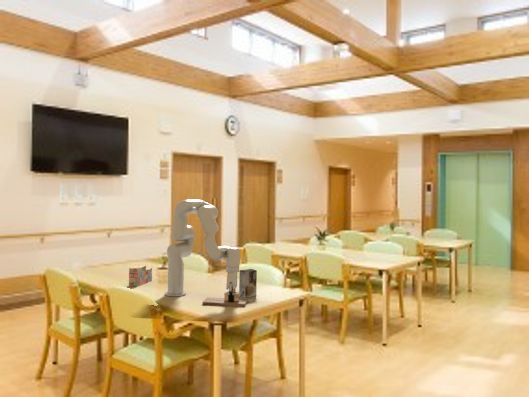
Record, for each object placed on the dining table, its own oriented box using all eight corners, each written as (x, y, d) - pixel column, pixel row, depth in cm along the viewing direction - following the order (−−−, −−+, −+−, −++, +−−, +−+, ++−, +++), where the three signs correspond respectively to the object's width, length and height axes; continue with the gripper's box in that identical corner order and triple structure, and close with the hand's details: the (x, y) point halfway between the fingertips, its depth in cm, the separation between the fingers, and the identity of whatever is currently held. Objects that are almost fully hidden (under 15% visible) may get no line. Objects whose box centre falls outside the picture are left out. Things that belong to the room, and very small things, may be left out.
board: (207, 299, 275) (207, 297, 275) (247, 301, 273) (247, 299, 273) (202, 304, 263) (202, 302, 263) (244, 306, 261) (244, 304, 261)
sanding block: (225, 299, 271) (225, 291, 270) (239, 300, 270) (239, 291, 270) (224, 301, 266) (224, 292, 265) (238, 302, 265) (238, 293, 265)
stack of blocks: (143, 280, 328) (144, 263, 328) (152, 281, 327) (152, 263, 327) (128, 286, 307) (129, 267, 307) (137, 287, 306) (137, 268, 306)
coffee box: (249, 294, 293) (250, 268, 293) (256, 296, 289) (257, 270, 288) (238, 296, 287) (239, 269, 287) (245, 298, 283) (245, 271, 282)
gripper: (228, 266, 276) (227, 297, 277) (223, 271, 259) (222, 304, 260) (241, 267, 276) (240, 297, 276) (236, 272, 259) (236, 304, 259)
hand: (231, 300), depth 268 cm, fingers closed on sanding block, 5 cm apart
